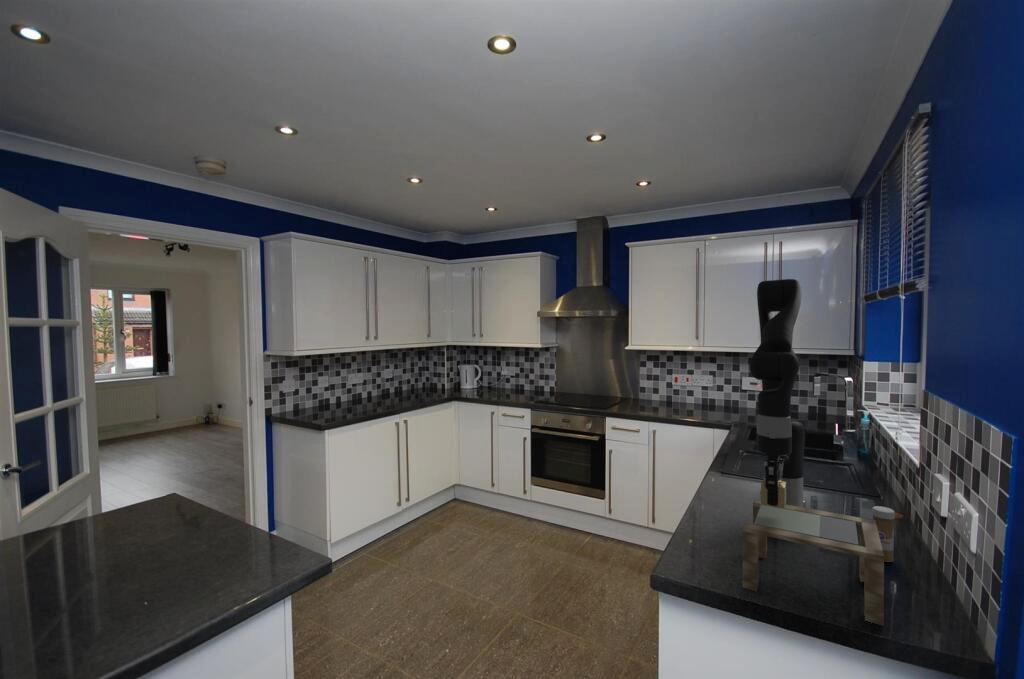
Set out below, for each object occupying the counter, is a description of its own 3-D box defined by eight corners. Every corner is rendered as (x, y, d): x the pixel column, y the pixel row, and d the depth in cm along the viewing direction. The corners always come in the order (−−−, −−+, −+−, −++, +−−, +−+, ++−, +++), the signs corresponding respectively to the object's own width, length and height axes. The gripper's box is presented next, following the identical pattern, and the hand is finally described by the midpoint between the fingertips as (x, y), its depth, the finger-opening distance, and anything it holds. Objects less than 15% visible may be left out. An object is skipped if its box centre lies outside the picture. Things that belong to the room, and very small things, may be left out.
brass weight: (763, 497, 118) (763, 478, 118) (786, 501, 115) (786, 481, 115) (761, 504, 114) (761, 483, 114) (784, 508, 111) (784, 487, 111)
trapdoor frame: (874, 579, 112) (875, 520, 111) (883, 626, 94) (884, 556, 94) (754, 551, 126) (754, 498, 126) (742, 587, 109) (742, 526, 109)
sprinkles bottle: (871, 560, 121) (871, 509, 121) (872, 553, 125) (872, 504, 124) (894, 565, 118) (894, 513, 118) (894, 558, 122) (894, 508, 121)
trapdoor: (855, 536, 111) (855, 521, 111) (858, 560, 99) (858, 544, 99) (761, 517, 122) (761, 504, 122) (754, 537, 111) (754, 523, 110)
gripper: (760, 426, 122) (760, 490, 122) (752, 436, 110) (752, 507, 111) (793, 429, 118) (793, 495, 118) (789, 441, 106) (789, 514, 106)
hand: (773, 501), depth 114 cm, fingers closed on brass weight, 5 cm apart
